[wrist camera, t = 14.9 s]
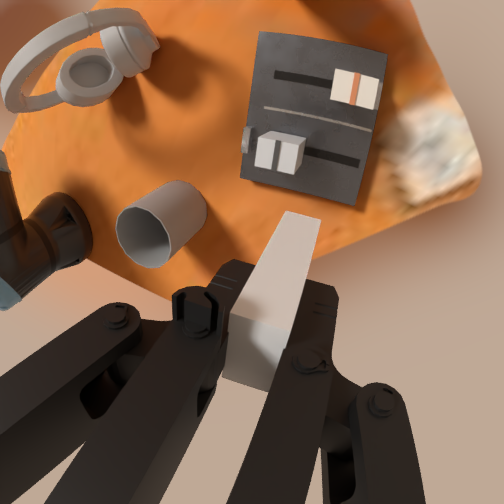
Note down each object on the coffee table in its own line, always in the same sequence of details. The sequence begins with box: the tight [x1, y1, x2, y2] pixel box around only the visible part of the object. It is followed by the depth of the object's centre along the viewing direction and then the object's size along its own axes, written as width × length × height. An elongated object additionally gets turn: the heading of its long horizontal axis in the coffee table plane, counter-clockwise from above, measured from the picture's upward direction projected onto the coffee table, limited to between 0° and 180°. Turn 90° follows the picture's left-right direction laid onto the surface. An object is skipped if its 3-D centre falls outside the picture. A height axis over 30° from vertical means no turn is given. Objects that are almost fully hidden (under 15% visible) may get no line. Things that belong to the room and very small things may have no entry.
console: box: [240, 31, 388, 206], centre depth 32 cm, size 14×18×3 cm
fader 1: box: [254, 131, 306, 175], centre depth 31 cm, size 4×3×5 cm
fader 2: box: [330, 69, 379, 110], centre depth 26 cm, size 4×3×5 cm
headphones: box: [0, 8, 160, 113], centre depth 27 cm, size 19×8×20 cm, turn 113°
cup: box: [115, 180, 207, 268], centre depth 40 cm, size 8×8×10 cm
